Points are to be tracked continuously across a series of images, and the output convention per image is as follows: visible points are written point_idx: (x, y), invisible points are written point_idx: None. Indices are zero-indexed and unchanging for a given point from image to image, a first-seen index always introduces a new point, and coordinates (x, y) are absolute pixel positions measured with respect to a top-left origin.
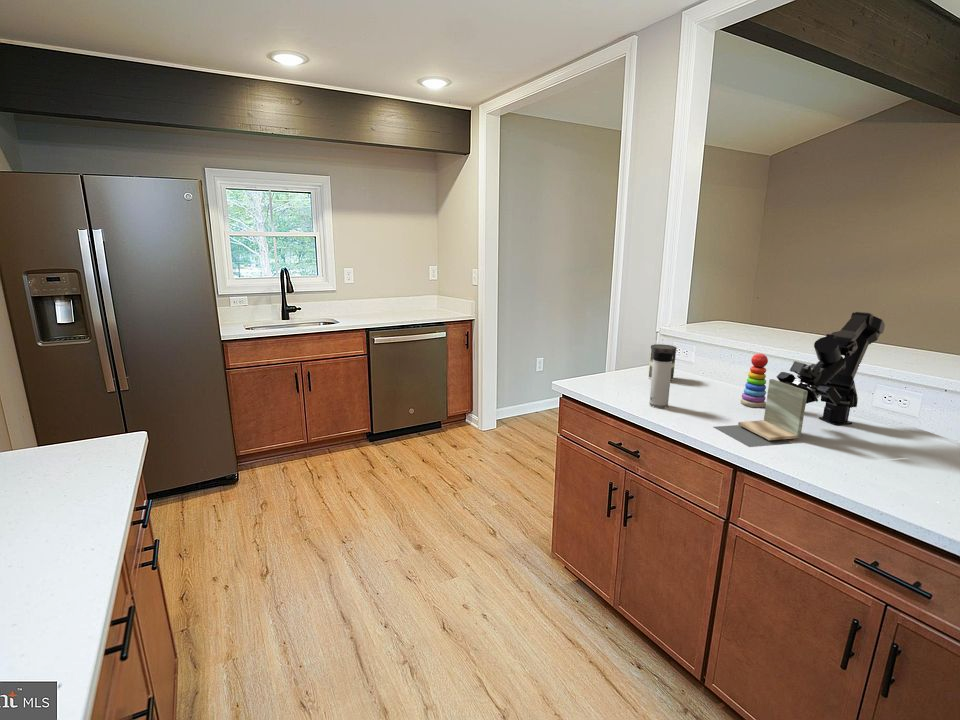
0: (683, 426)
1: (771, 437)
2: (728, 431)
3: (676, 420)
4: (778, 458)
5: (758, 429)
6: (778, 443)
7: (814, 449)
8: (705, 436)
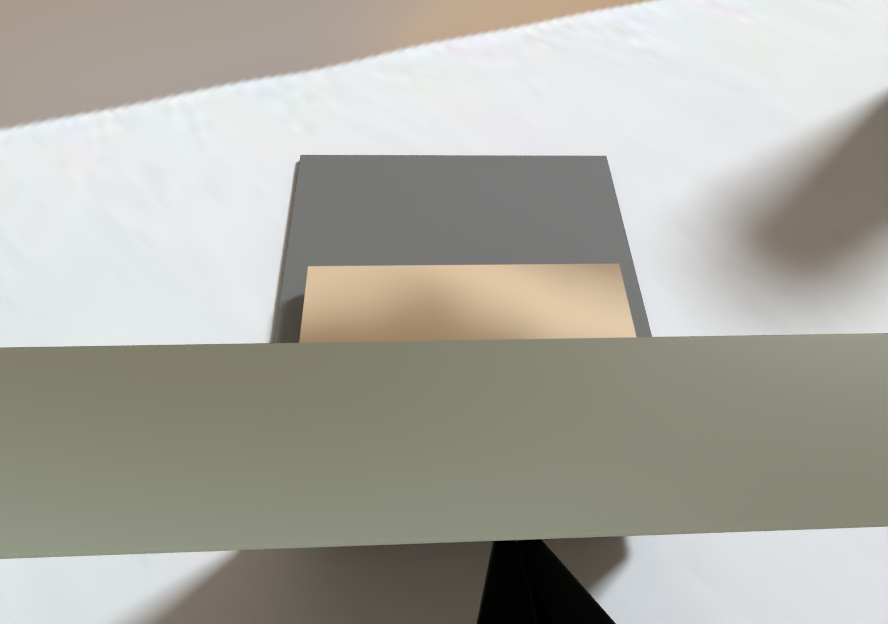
0: (621, 60)
1: (307, 277)
2: (527, 187)
3: (710, 71)
4: (137, 202)
5: (461, 296)
6: (290, 333)
7: None
8: (482, 76)
